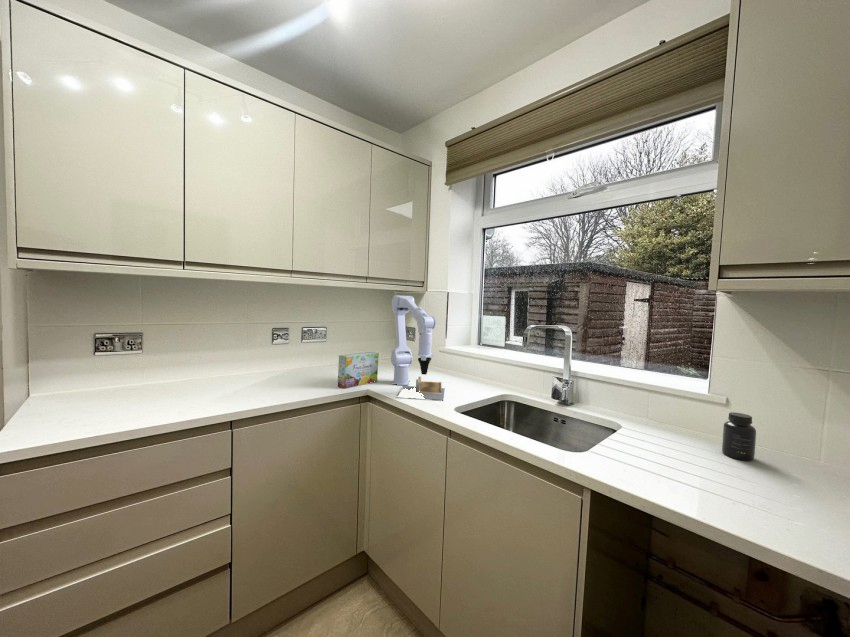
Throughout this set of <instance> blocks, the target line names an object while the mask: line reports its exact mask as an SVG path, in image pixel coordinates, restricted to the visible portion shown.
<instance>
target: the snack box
mask: <svg viewBox="0 0 850 637" xmlns="http://www.w3.org/2000/svg"><path fill="white" fill-rule="evenodd" d="M379 355H380V354H379V352H376V351H375V352H374V351H368V352H367V351H366V352H358V353H357V352H356V353H348V354H347V353H346V354H340V355H338V370H337V371H338V372H337V387H339V388H342V389H349V388H352V387H353V386H354V387H357V386H358V385H359V386H362V384H363V385H367V384H366V383H368V384H371V383H370V382H373V383H375V382H374V381H377V382H378V374H379V373H378V372H379V371H378V370H379Z"/></svg>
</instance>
